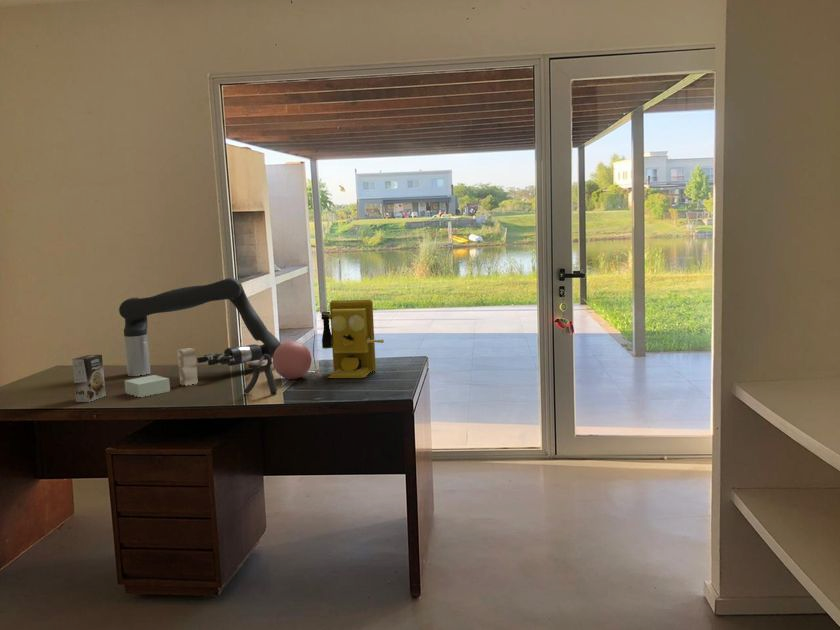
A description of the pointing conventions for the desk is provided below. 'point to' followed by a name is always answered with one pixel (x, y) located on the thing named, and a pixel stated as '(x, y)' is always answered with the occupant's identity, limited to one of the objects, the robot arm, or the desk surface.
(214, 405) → the desk surface
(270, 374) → the hand grip strengthener
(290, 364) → the balloon
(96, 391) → the coffee box
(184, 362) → the ash pillar
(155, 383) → the base block
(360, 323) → the vintage telephone
